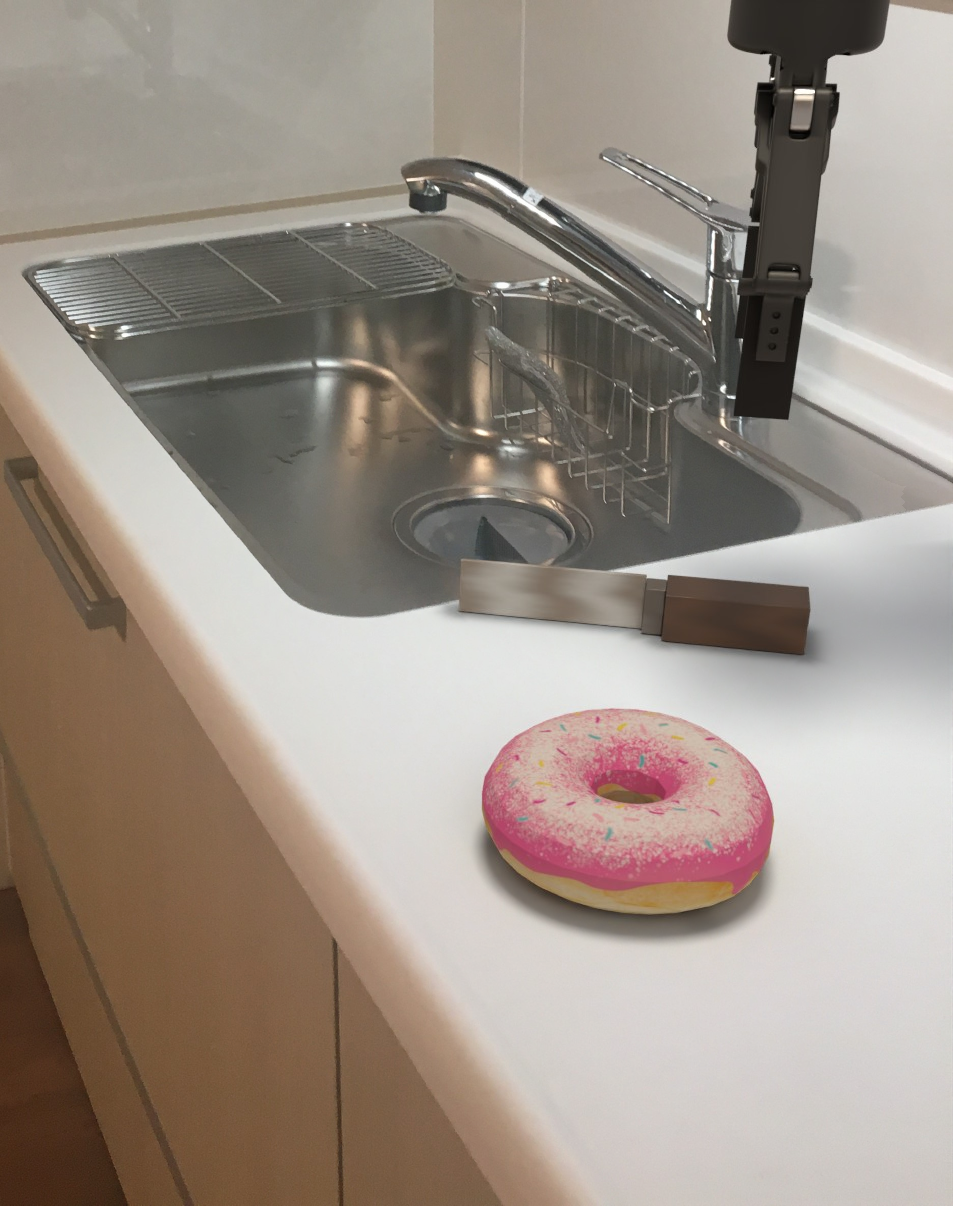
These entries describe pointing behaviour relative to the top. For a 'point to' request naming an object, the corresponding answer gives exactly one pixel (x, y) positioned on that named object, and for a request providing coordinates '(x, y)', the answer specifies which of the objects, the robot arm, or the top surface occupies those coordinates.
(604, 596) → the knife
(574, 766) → the donut
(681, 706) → the top surface
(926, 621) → the top surface
